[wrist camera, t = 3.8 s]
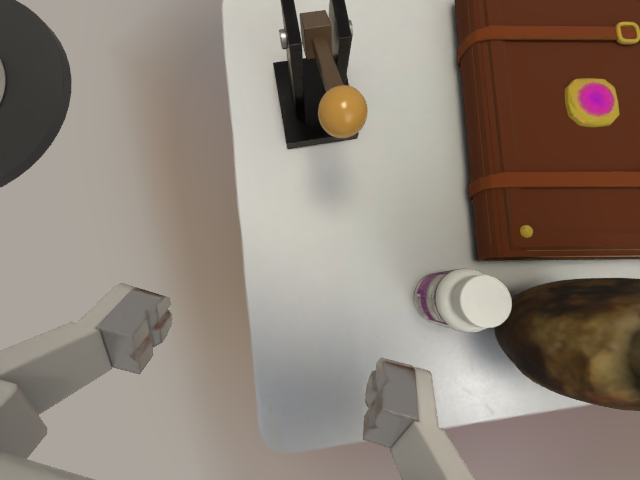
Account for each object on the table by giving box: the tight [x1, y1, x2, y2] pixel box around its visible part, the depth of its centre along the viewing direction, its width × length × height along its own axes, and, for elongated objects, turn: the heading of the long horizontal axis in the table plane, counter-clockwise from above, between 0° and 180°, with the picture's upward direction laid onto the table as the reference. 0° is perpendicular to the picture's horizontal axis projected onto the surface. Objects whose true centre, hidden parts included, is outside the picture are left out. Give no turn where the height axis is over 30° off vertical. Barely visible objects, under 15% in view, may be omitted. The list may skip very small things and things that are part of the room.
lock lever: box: [300, 10, 367, 138], centre depth 24 cm, size 14×3×3 cm, turn 10°
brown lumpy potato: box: [494, 278, 640, 411], centre depth 23 cm, size 13×8×20 cm, turn 96°
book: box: [455, 0, 640, 261], centre depth 34 cm, size 23×32×5 cm
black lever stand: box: [273, 0, 358, 149], centre depth 31 cm, size 10×8×12 cm
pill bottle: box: [414, 269, 512, 333], centre depth 29 cm, size 5×5×10 cm
